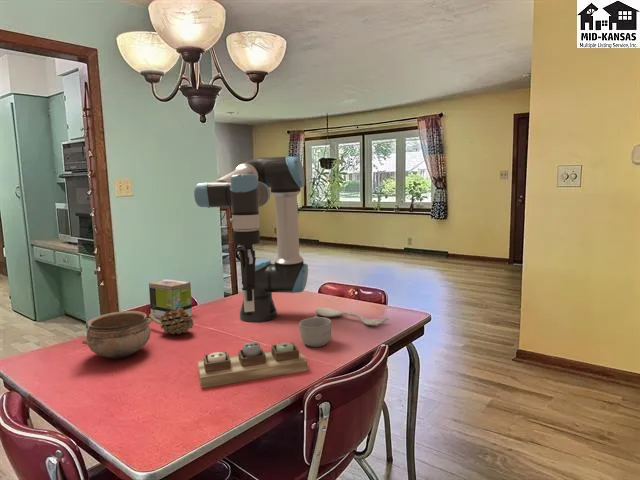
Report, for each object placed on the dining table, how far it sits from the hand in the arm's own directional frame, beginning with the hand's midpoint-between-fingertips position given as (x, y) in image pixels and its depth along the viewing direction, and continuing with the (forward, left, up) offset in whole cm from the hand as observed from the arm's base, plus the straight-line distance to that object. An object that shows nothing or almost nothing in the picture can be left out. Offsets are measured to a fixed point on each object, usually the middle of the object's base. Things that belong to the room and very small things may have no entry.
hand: (249, 310), depth 126 cm
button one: (0, +10, -15) cm, 18 cm away
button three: (0, 0, -13) cm, 13 cm away
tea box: (-67, -22, -18) cm, 73 cm away
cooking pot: (-28, -38, -18) cm, 51 cm away
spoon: (-33, +45, -19) cm, 59 cm away
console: (0, 0, -18) cm, 18 cm away
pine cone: (-45, -23, -18) cm, 54 cm away
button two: (0, -10, -15) cm, 18 cm away
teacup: (-15, +25, -18) cm, 35 cm away
